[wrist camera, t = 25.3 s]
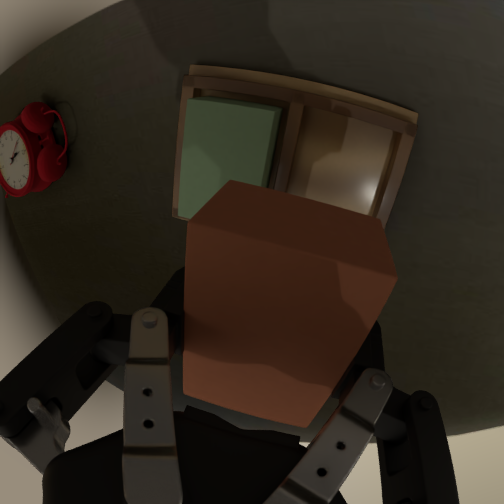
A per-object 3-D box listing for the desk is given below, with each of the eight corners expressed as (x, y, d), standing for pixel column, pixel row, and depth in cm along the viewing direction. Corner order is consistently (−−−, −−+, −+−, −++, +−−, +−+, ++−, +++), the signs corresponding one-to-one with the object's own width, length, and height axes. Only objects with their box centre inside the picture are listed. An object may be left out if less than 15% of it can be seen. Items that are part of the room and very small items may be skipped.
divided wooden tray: (194, 64, 22) (181, 63, 20) (415, 112, 20) (424, 115, 18) (180, 213, 29) (168, 224, 27) (366, 261, 27) (368, 277, 25)
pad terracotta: (229, 178, 12) (186, 221, 8) (380, 218, 11) (399, 278, 8) (210, 336, 17) (182, 393, 13) (315, 366, 16) (306, 428, 13)
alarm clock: (-18, 141, 26) (10, 94, 19) (18, 125, 31) (62, 79, 23) (5, 211, 31) (40, 193, 23) (40, 190, 35) (89, 168, 28)
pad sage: (208, 95, 22) (187, 98, 19) (283, 107, 21) (275, 111, 18) (197, 197, 27) (177, 216, 23) (263, 213, 26) (252, 234, 23)
